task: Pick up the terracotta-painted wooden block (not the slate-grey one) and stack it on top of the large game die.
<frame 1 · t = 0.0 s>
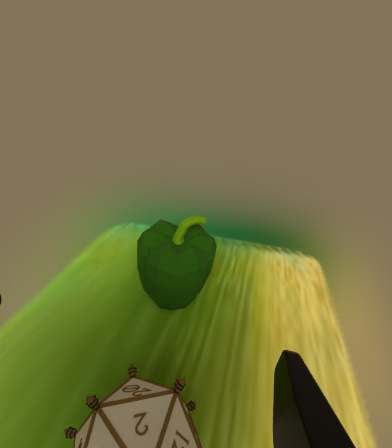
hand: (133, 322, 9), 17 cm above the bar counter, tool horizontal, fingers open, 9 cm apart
bell pepper: (171, 294, 33), on the bar counter
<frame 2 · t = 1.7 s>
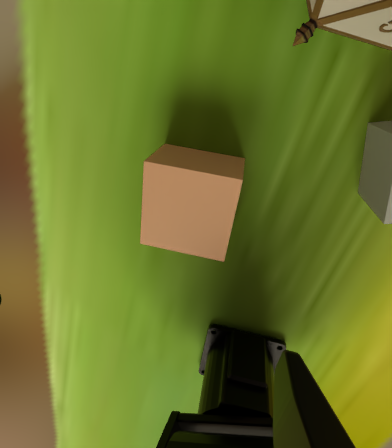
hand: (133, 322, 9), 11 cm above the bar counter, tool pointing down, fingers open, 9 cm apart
terracotta block: (199, 187, 19), on the bar counter
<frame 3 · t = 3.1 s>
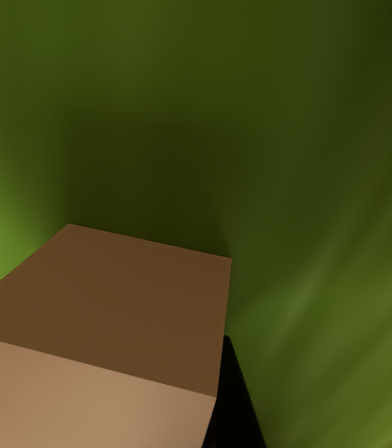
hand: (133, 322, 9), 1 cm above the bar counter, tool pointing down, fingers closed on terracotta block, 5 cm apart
terracotta block: (144, 301, 10), on the bar counter, touching gripper
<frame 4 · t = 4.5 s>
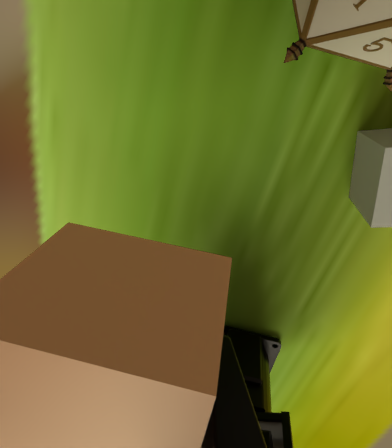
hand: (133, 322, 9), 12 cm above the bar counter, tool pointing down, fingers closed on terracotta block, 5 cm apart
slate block: (390, 163, 17), on the bar counter
terracotta block: (144, 301, 10), point 11 cm above the bar counter, touching gripper
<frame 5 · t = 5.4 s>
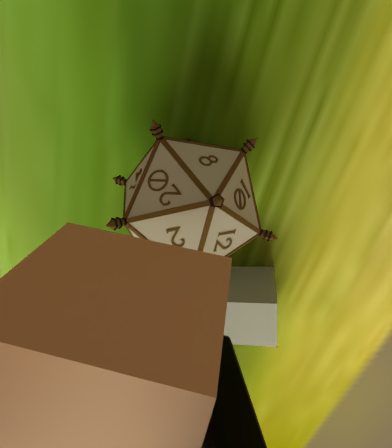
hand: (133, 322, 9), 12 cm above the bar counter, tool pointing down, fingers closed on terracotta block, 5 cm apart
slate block: (247, 286, 23), on the bar counter
terracotta block: (144, 301, 10), point 11 cm above the bar counter, touching gripper
game die: (201, 180, 19), on the bar counter
when the fingers open (10 cm above the bar counter, at t = 6.1 s): terracotta block drops 2 cm, resting on game die.
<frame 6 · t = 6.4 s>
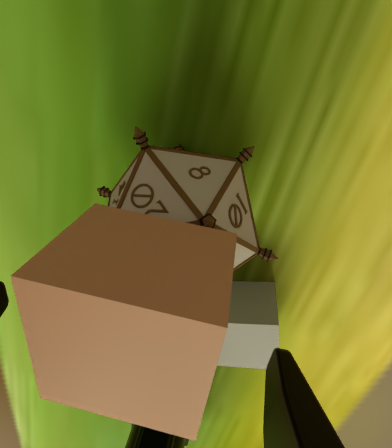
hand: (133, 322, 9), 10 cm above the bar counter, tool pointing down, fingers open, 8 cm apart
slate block: (246, 301, 21), on the bar counter
terracotta block: (159, 274, 11), point 8 cm above the bar counter, touching game die
game die: (195, 190, 18), on the bar counter, touching terracotta block
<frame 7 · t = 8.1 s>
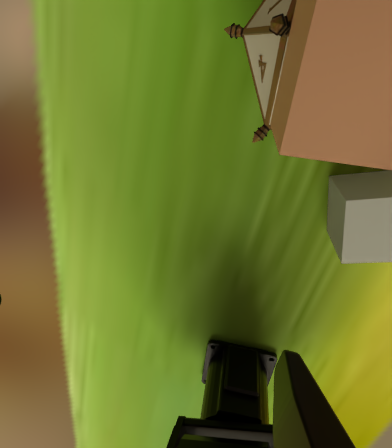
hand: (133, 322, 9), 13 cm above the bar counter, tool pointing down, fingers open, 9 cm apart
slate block: (360, 201, 19), on the bar counter
terracotta block: (373, 47, 8), point 8 cm above the bar counter, touching game die
game die: (318, 52, 15), on the bar counter, touching terracotta block
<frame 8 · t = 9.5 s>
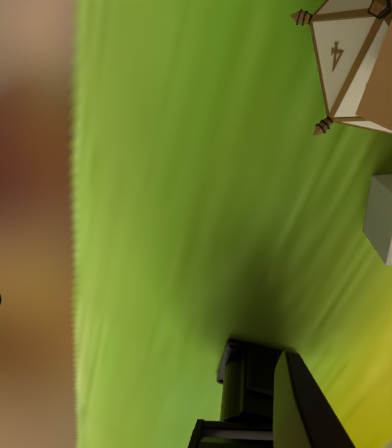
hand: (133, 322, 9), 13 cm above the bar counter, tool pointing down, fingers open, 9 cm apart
game die: (374, 46, 15), on the bar counter, touching terracotta block
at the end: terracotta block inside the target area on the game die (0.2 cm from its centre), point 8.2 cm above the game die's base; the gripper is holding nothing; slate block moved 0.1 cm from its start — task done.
